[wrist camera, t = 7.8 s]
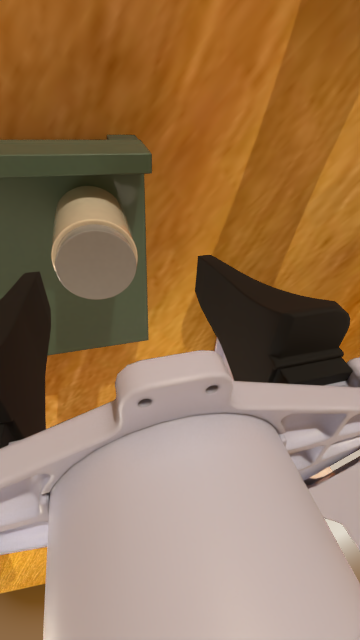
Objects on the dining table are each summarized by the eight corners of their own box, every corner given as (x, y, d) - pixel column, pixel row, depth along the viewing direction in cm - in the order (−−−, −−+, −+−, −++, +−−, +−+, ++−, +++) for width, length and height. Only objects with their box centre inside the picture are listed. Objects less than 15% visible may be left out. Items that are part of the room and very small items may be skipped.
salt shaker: (127, 248, 22) (141, 298, 18) (62, 254, 21) (60, 307, 16) (122, 184, 19) (138, 223, 15) (47, 186, 18) (40, 229, 14)
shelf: (143, 322, 30) (153, 360, 26) (9, 341, 27) (0, 385, 24) (136, 134, 20) (152, 153, 16) (-81, 133, 17) (-121, 156, 13)
